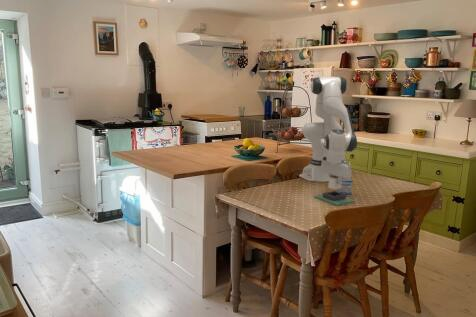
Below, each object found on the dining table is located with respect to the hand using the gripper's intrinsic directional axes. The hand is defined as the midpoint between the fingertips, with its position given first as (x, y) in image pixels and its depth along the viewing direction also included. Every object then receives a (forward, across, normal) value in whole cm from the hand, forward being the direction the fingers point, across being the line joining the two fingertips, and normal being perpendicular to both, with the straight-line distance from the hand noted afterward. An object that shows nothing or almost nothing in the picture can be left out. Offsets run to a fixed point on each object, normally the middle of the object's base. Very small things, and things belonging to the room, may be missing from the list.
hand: (335, 183), depth 219 cm
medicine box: (+10, +6, -14) cm, 18 cm away
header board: (+10, 0, 0) cm, 10 cm away
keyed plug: (+3, 0, 0) cm, 3 cm away
